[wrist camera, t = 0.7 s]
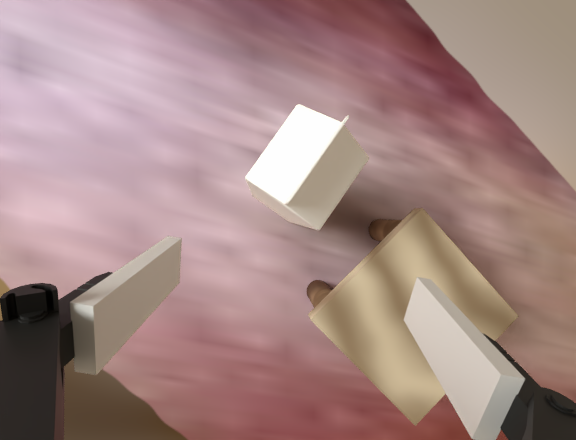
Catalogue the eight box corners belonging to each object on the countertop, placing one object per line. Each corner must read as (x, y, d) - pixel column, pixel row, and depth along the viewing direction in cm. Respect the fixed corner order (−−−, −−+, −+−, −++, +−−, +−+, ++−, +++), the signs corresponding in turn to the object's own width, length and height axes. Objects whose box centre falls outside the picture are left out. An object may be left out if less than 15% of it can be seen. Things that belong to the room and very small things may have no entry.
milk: (252, 196, 36) (237, 170, 14) (278, 159, 36) (303, 76, 14) (289, 222, 37) (330, 236, 15) (315, 185, 37) (393, 145, 15)
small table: (379, 209, 38) (422, 208, 28) (453, 290, 39) (518, 316, 29) (296, 291, 37) (310, 319, 27) (375, 370, 38) (415, 425, 29)
